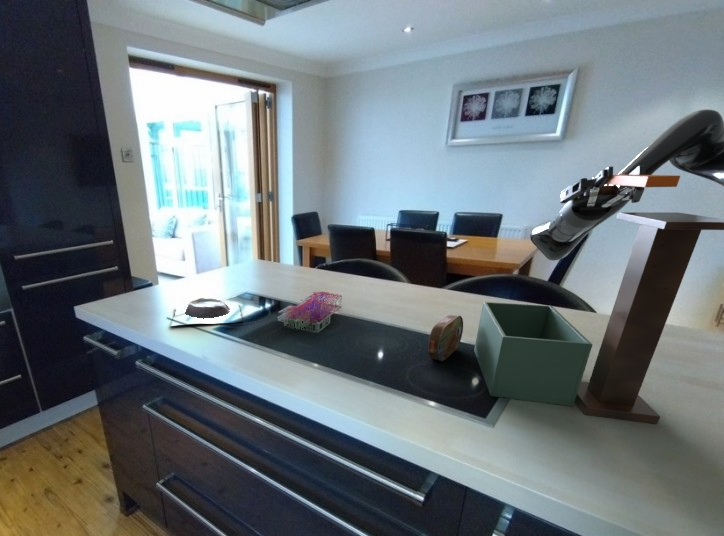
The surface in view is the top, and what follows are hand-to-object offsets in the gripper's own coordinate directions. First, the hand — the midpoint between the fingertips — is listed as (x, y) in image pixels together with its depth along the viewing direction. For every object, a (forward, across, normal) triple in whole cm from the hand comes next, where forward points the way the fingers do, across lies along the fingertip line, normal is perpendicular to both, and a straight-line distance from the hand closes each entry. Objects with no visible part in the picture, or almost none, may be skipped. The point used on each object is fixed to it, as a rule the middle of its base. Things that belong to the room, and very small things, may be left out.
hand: (626, 171), depth 70 cm
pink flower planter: (-34, -61, +25) cm, 74 cm away
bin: (-10, -12, +38) cm, 41 cm away
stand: (-3, 0, +42) cm, 42 cm away
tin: (-17, -26, +35) cm, 46 cm away
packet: (+2, 0, +4) cm, 4 cm away
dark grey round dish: (-27, -93, +29) cm, 101 cm away
